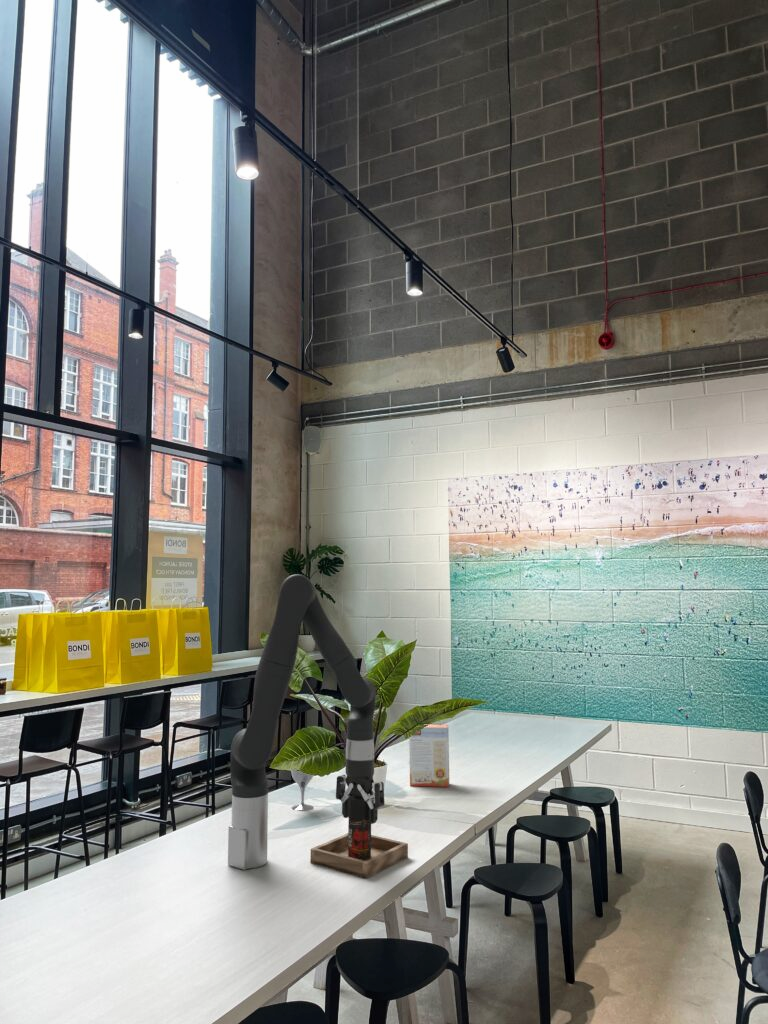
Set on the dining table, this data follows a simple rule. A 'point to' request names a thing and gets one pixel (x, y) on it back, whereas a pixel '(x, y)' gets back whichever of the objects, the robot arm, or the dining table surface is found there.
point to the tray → (337, 859)
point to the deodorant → (359, 829)
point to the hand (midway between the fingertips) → (359, 820)
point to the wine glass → (302, 788)
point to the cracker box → (430, 756)
